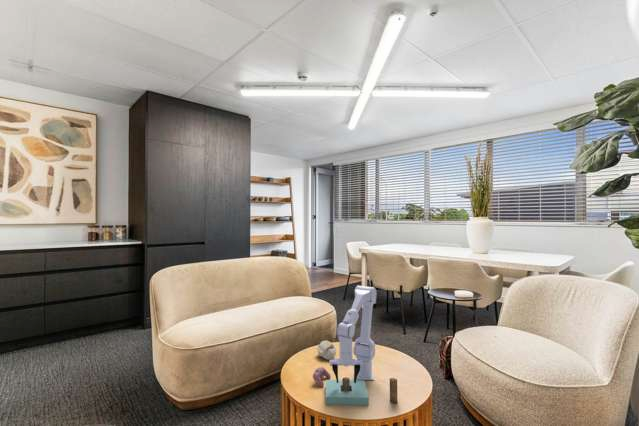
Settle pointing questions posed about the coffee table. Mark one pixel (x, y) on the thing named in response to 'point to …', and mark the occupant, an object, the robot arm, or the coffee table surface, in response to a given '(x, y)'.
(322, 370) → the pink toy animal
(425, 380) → the coffee table surface
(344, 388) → the short pin
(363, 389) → the block
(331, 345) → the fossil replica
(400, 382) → the coffee table surface
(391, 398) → the tall pin
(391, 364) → the coffee table surface
